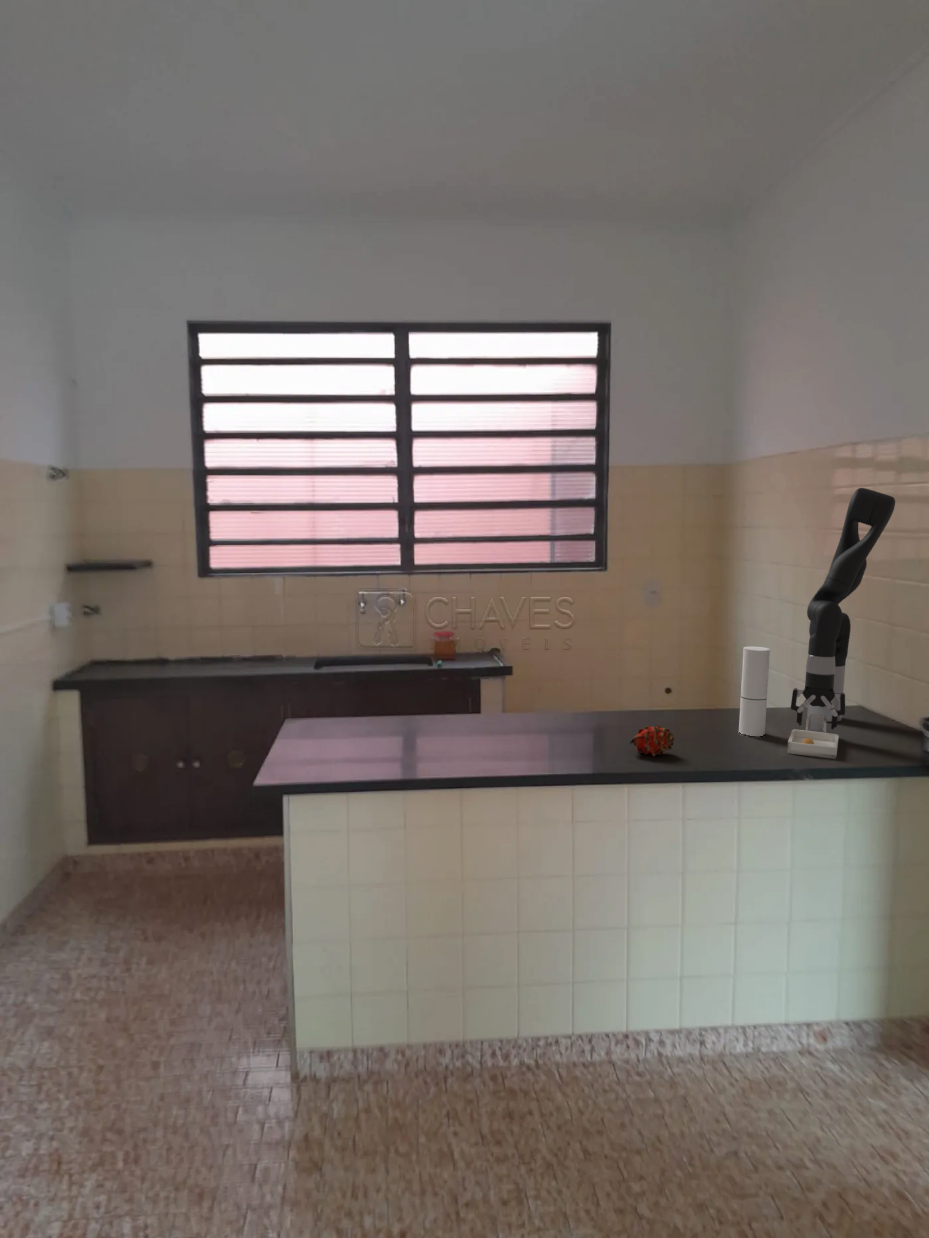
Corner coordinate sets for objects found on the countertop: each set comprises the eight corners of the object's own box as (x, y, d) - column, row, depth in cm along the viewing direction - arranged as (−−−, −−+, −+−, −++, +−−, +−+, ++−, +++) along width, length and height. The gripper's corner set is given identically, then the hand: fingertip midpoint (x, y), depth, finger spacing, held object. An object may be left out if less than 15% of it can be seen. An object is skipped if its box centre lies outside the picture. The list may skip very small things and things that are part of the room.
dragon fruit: (677, 760, 228) (633, 767, 227) (667, 735, 234) (624, 742, 233) (681, 740, 222) (635, 748, 221) (670, 715, 228) (626, 722, 227)
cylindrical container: (765, 732, 251) (771, 647, 248) (763, 738, 245) (768, 651, 241) (740, 729, 254) (745, 645, 251) (737, 735, 248) (741, 649, 244)
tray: (791, 739, 244) (792, 729, 243) (837, 744, 239) (838, 734, 238) (787, 753, 230) (787, 742, 230) (836, 759, 225) (836, 748, 225)
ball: (799, 737, 231) (799, 746, 232) (805, 743, 228) (805, 752, 230) (810, 734, 231) (810, 744, 233) (816, 740, 229) (816, 750, 230)
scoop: (807, 733, 251) (808, 713, 250) (825, 735, 249) (827, 715, 248) (805, 740, 244) (806, 719, 243) (824, 742, 242) (825, 721, 241)
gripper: (792, 670, 243) (788, 726, 245) (847, 675, 237) (843, 733, 240) (794, 666, 250) (790, 721, 252) (848, 671, 244) (844, 726, 246)
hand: (816, 726), depth 246 cm, fingers open, 8 cm apart
